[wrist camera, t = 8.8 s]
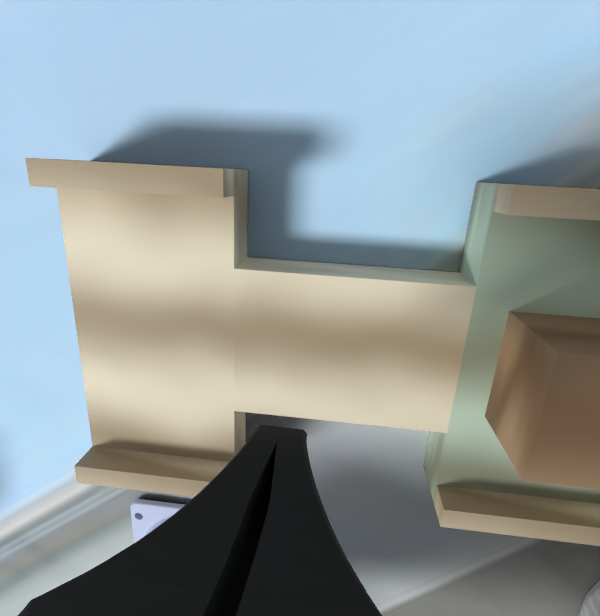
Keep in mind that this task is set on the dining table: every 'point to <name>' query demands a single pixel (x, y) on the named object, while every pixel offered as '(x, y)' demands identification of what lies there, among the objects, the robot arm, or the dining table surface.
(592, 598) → the ramekin
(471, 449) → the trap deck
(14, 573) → the dining table surface
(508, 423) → the walnut block
